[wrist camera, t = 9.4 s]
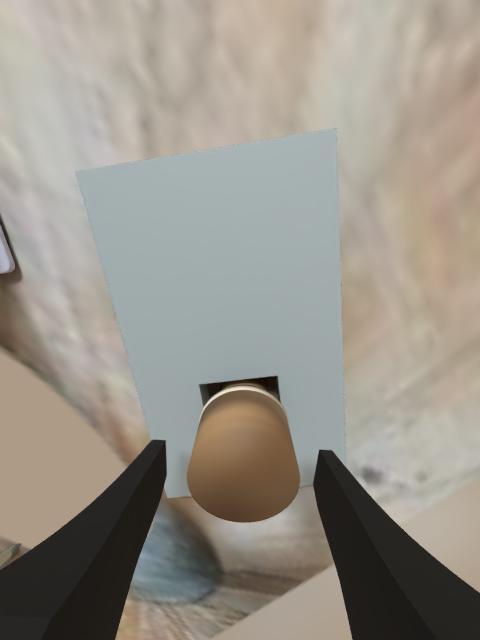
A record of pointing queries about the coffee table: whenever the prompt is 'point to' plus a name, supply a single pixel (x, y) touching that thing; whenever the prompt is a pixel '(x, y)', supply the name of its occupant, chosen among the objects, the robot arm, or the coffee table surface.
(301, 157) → the board
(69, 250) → the coffee table surface
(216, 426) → the peg
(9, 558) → the caliper
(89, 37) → the coffee table surface
